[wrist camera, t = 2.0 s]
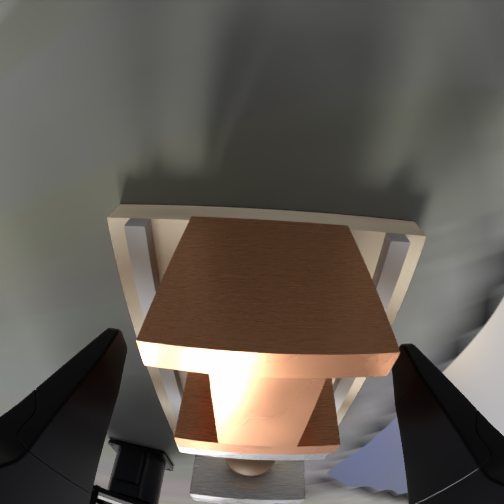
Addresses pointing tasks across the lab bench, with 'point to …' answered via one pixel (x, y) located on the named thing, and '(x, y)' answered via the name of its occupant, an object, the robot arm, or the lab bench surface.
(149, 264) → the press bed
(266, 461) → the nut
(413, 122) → the lab bench surface
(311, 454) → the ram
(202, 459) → the brushed steel block
